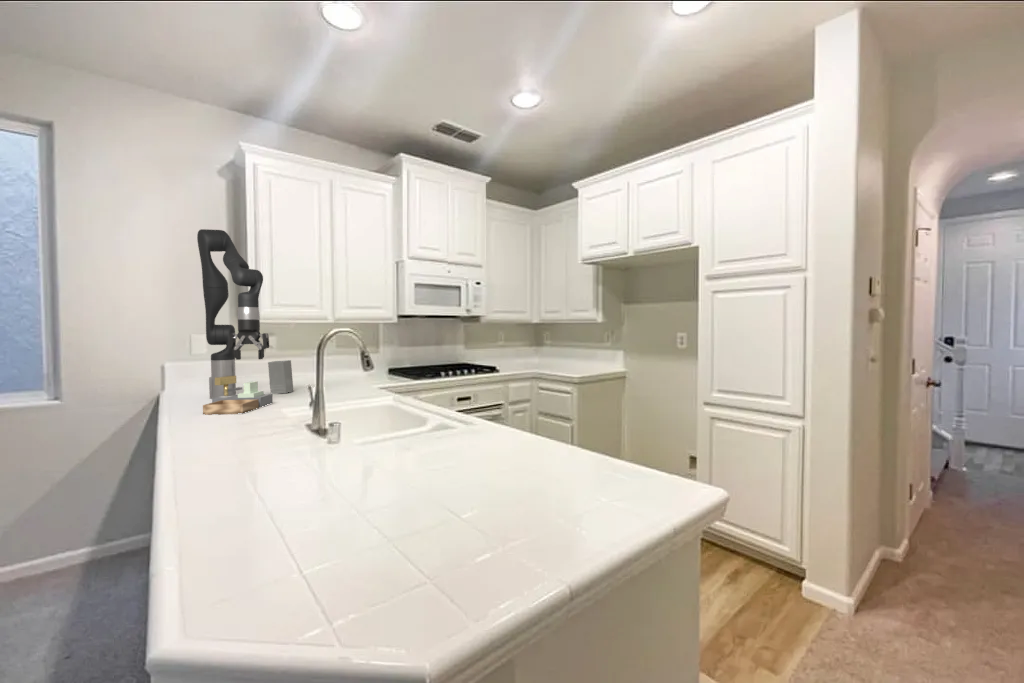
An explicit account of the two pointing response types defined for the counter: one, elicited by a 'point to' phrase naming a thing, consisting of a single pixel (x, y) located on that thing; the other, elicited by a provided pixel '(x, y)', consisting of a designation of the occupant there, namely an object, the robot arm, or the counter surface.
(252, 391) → the cover
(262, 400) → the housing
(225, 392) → the key
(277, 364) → the skincare box
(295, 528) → the counter surface
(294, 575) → the counter surface
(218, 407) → the tray
